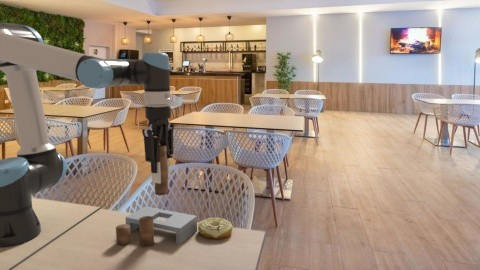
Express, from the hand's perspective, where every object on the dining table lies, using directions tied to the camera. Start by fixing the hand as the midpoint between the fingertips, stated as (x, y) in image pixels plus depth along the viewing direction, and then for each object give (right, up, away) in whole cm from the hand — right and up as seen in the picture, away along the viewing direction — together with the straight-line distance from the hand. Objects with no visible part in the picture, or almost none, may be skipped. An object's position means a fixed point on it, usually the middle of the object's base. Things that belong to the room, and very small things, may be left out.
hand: (160, 180), depth 116 cm
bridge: (0, -17, +3) cm, 17 cm away
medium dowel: (-3, -18, -5) cm, 19 cm away
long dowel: (0, -4, +1) cm, 4 cm away
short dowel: (-10, -18, -4) cm, 21 cm away
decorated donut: (+17, -17, +3) cm, 24 cm away
